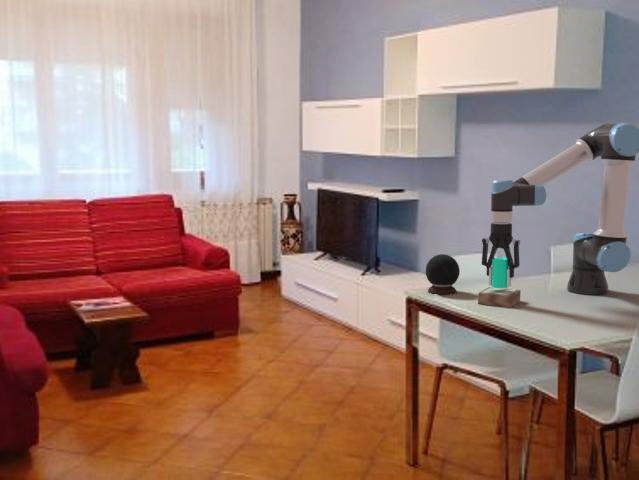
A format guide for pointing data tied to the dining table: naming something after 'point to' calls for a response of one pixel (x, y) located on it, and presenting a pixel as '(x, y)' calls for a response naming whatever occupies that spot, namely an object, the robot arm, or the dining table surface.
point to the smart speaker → (442, 274)
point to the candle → (499, 272)
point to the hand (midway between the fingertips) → (499, 285)
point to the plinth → (499, 297)
